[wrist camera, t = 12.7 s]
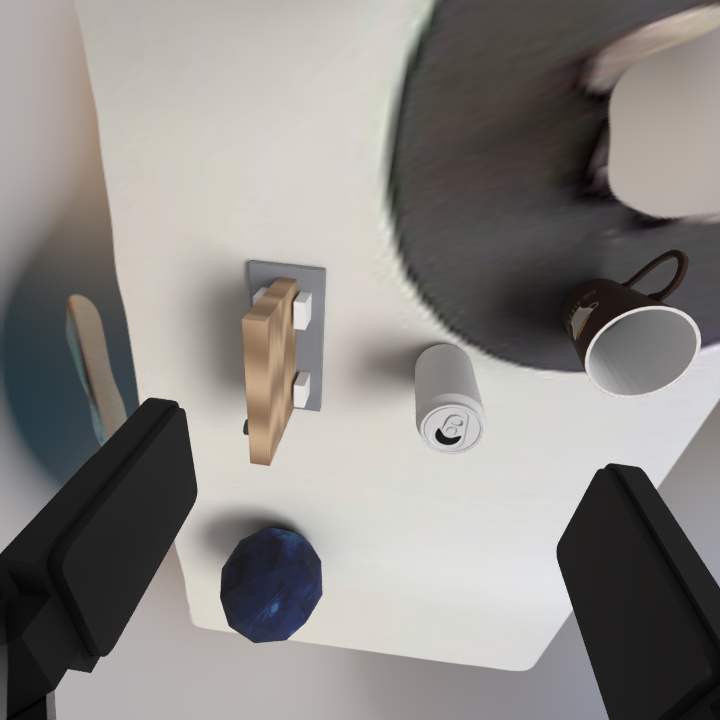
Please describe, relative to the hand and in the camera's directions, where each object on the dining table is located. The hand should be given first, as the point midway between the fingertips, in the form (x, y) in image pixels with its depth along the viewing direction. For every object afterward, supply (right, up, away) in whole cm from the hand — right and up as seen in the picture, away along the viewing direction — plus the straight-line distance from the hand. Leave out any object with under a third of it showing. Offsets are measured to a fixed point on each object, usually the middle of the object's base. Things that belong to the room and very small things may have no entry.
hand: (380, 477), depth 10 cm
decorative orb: (-12, -26, +57) cm, 64 cm away
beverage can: (+9, +2, +39) cm, 40 cm away
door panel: (-9, +4, +38) cm, 39 cm away
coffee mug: (+25, +9, +33) cm, 42 cm away
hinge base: (-9, +5, +39) cm, 40 cm away
